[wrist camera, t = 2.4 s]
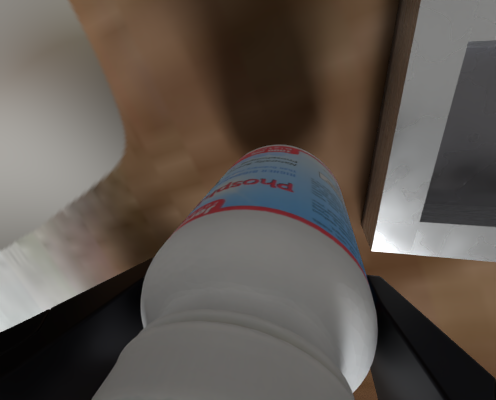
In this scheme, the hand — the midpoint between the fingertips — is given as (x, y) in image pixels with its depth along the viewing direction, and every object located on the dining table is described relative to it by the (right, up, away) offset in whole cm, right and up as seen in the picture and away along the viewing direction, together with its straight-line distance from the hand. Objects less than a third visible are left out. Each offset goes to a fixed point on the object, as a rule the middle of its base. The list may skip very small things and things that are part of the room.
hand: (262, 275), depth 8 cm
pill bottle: (+1, +3, +6) cm, 6 cm away
